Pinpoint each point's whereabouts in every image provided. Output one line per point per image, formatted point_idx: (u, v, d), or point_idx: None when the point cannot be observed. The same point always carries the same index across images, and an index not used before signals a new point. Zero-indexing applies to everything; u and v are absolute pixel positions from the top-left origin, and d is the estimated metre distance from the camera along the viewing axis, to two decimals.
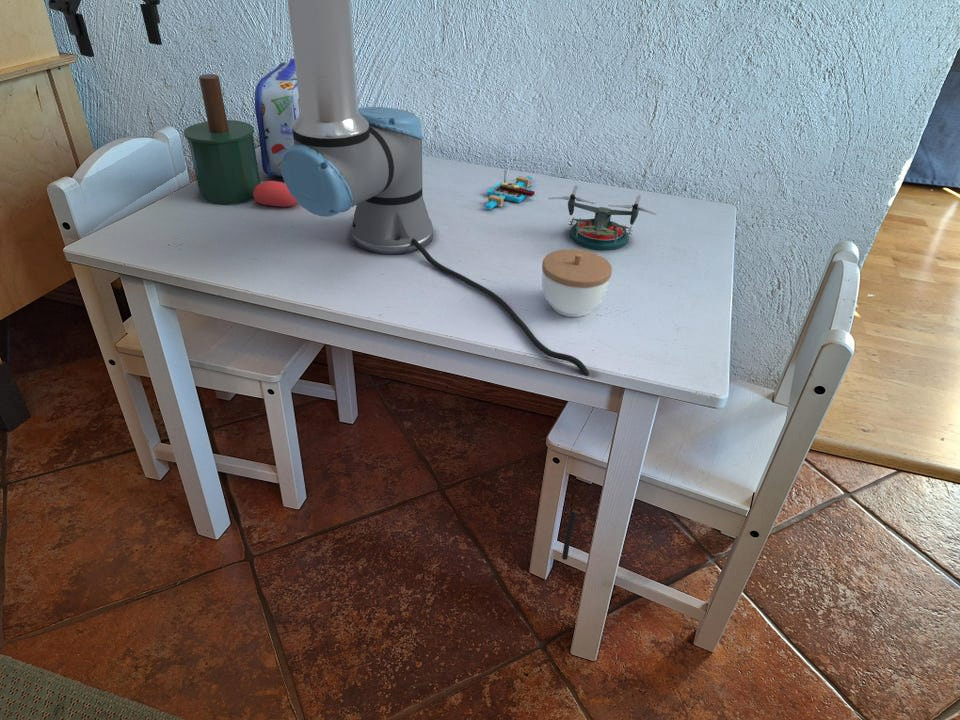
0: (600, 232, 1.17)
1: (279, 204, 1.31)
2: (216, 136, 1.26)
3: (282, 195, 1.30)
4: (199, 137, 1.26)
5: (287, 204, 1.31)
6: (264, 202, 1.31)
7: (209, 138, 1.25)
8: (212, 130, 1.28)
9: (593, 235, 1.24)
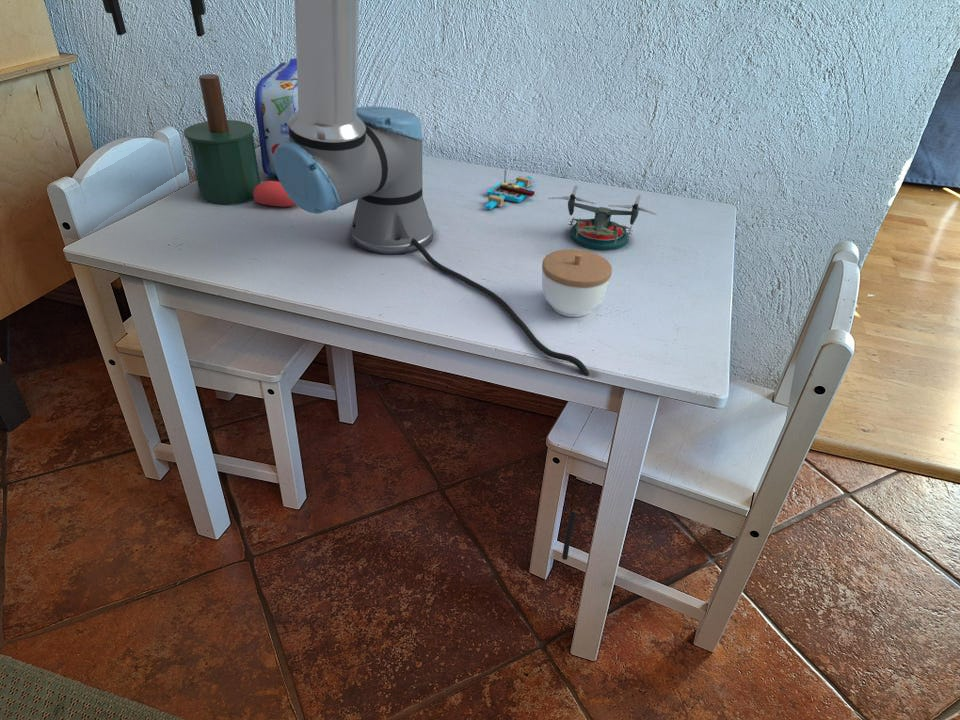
0: (600, 232, 1.17)
1: (279, 204, 1.31)
2: (216, 136, 1.26)
3: (282, 195, 1.30)
4: (199, 137, 1.26)
5: (287, 204, 1.31)
6: (264, 202, 1.31)
7: (209, 138, 1.25)
8: (212, 130, 1.28)
9: (593, 235, 1.24)
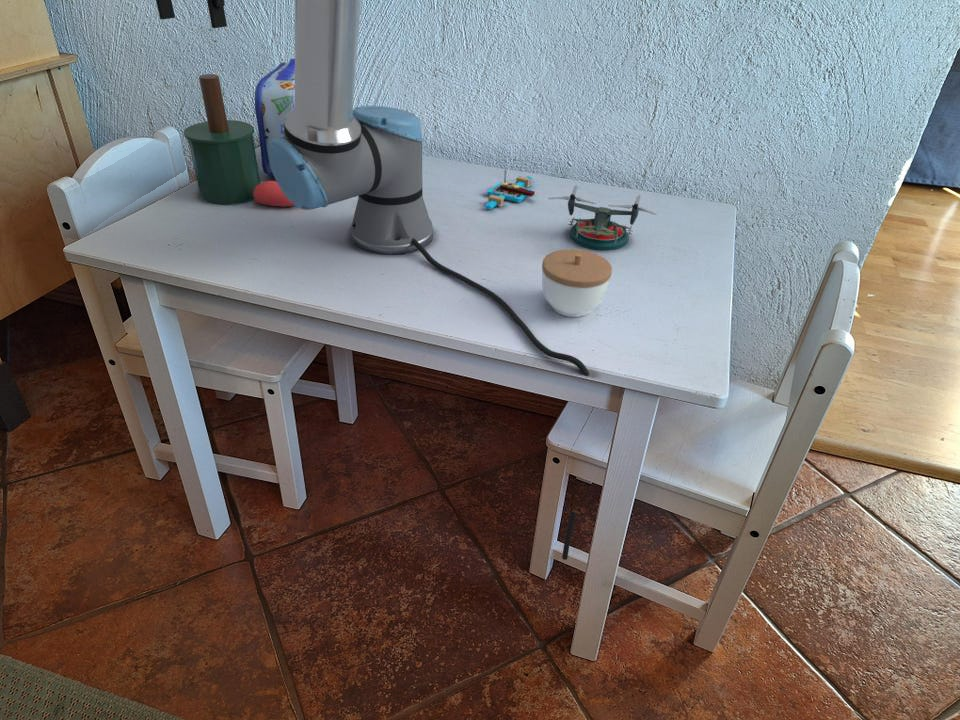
0: (600, 232, 1.17)
1: (279, 204, 1.31)
2: (216, 136, 1.26)
3: (282, 195, 1.30)
4: (199, 137, 1.26)
5: (287, 204, 1.31)
6: (264, 202, 1.31)
7: (209, 138, 1.25)
8: (212, 130, 1.28)
9: (593, 235, 1.24)
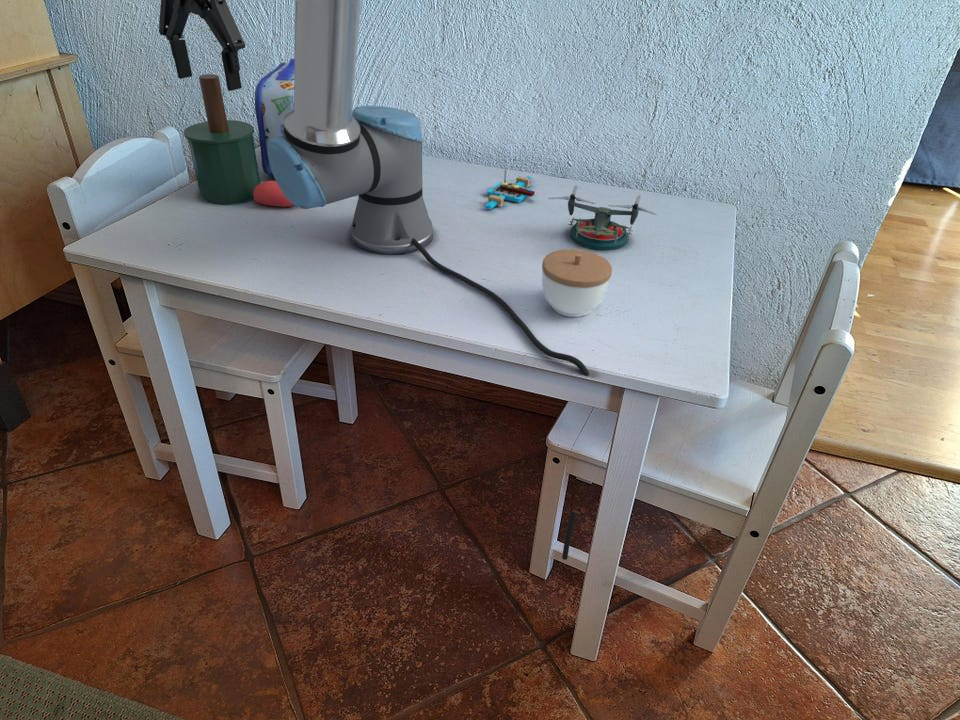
0: (600, 232, 1.17)
1: (279, 204, 1.31)
2: (216, 136, 1.26)
3: (282, 195, 1.30)
4: (199, 137, 1.26)
5: (287, 204, 1.31)
6: (264, 202, 1.31)
7: (209, 138, 1.25)
8: (212, 130, 1.28)
9: (593, 235, 1.24)
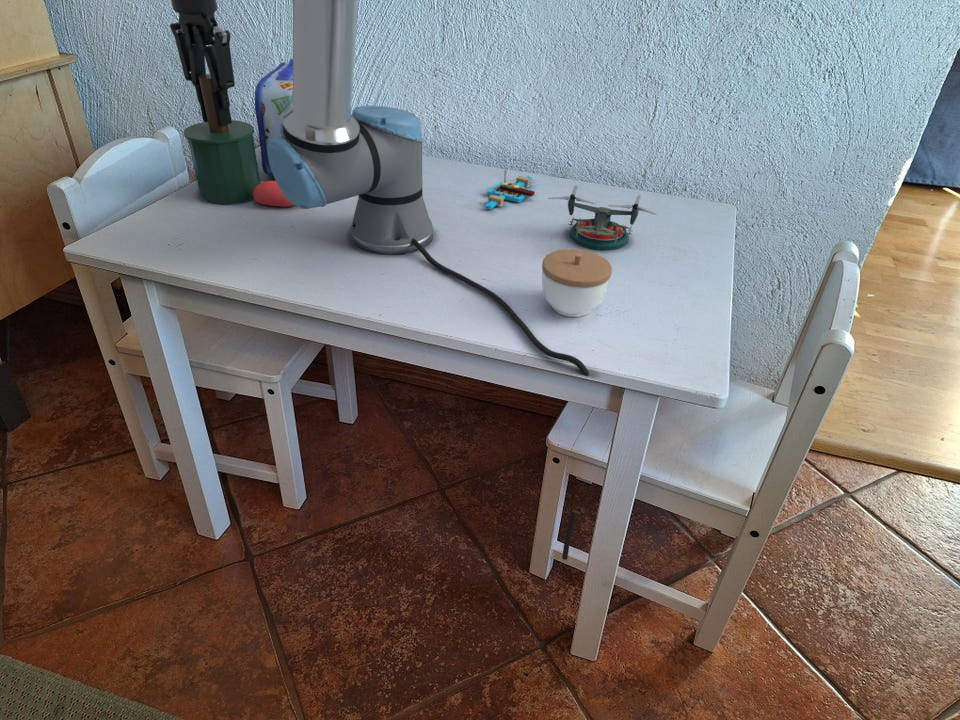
0: (600, 232, 1.17)
1: (279, 204, 1.31)
2: (216, 136, 1.26)
3: (282, 195, 1.30)
4: (199, 137, 1.26)
5: (287, 204, 1.31)
6: (264, 202, 1.31)
7: (209, 138, 1.25)
8: (212, 130, 1.28)
9: (593, 235, 1.24)
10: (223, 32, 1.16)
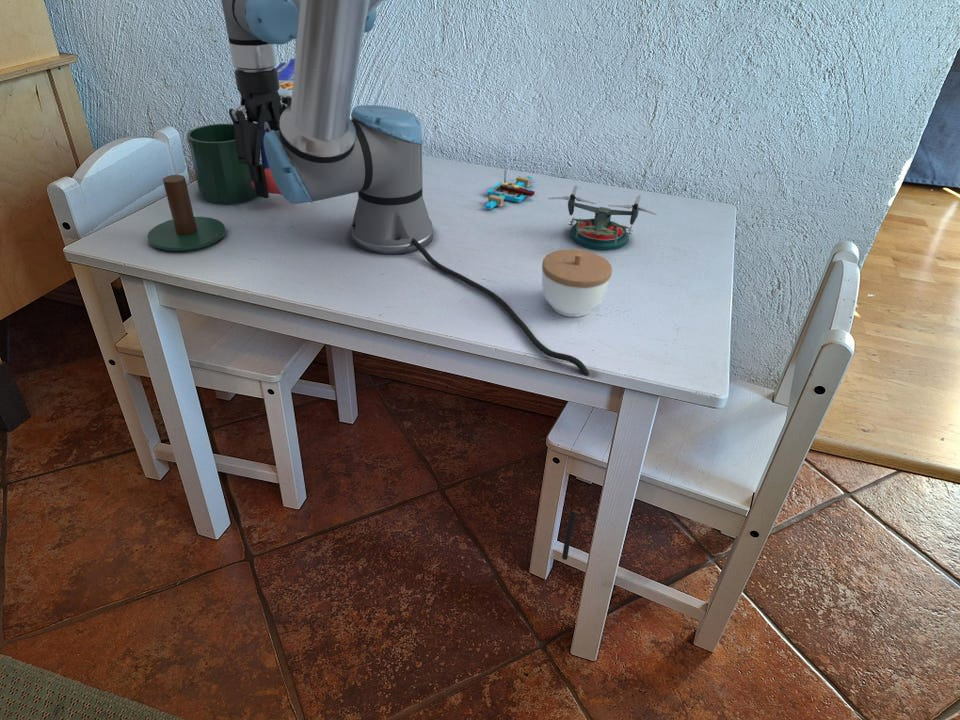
0: (600, 232, 1.17)
1: (277, 192, 1.29)
2: (182, 241, 1.16)
3: None
4: (164, 242, 1.15)
5: None
6: None
7: (175, 244, 1.15)
8: (179, 233, 1.18)
9: (593, 235, 1.24)
10: None
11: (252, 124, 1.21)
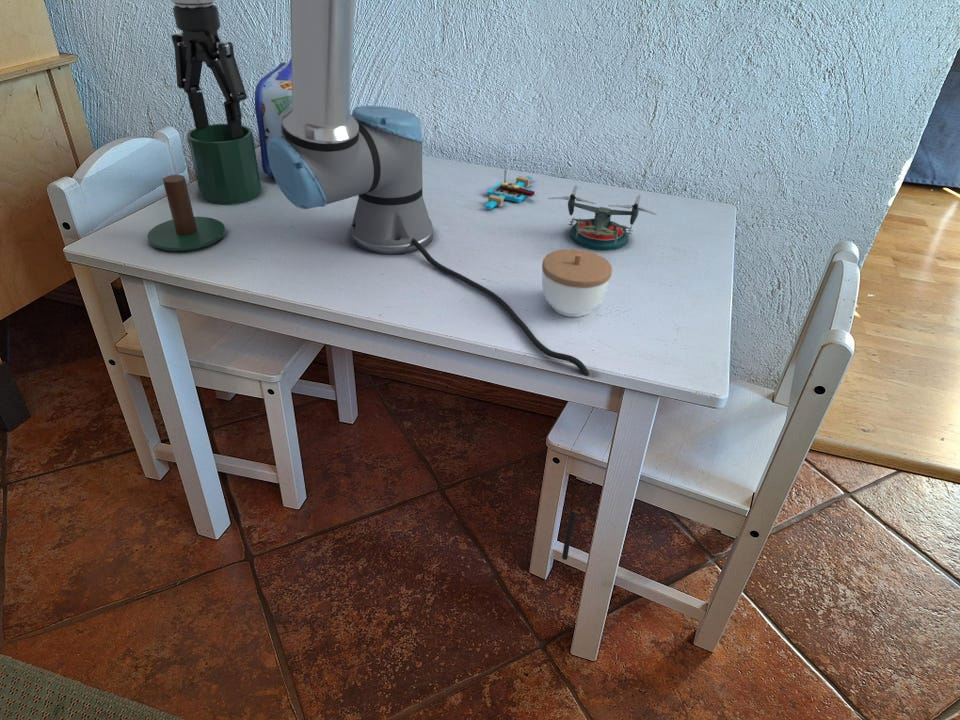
0: (600, 232, 1.17)
1: None
2: (182, 241, 1.16)
3: None
4: (164, 242, 1.15)
5: None
6: None
7: (175, 244, 1.15)
8: (179, 233, 1.18)
9: (593, 235, 1.24)
10: (225, 43, 1.17)
11: None
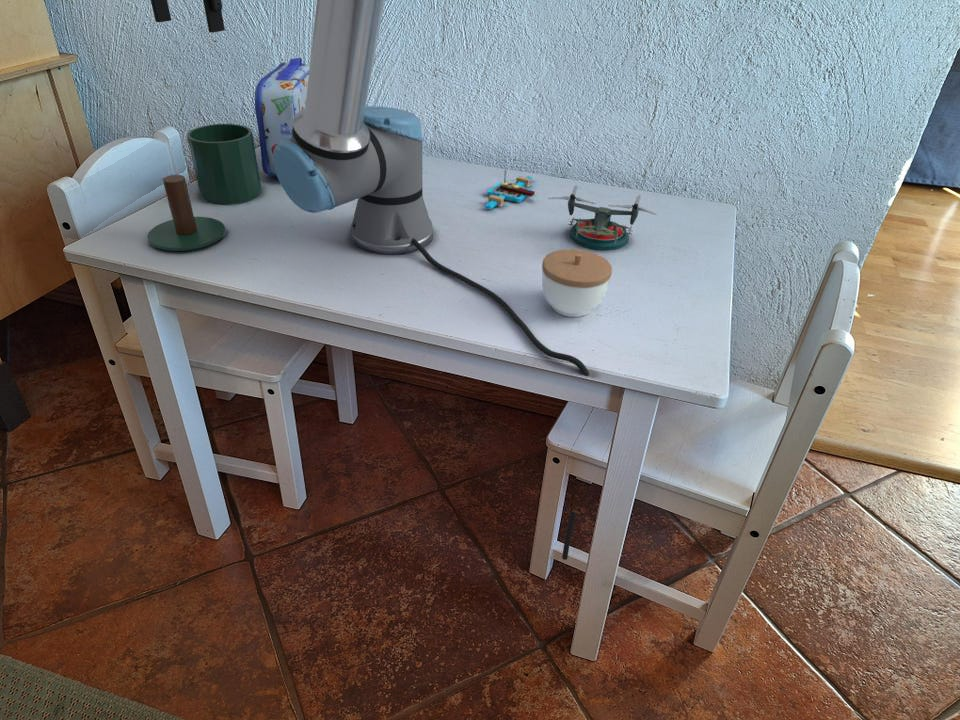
0: (600, 232, 1.17)
1: None
2: (182, 241, 1.16)
3: None
4: (164, 242, 1.15)
5: None
6: None
7: (175, 244, 1.15)
8: (179, 233, 1.18)
9: (593, 235, 1.24)
10: None
11: None
